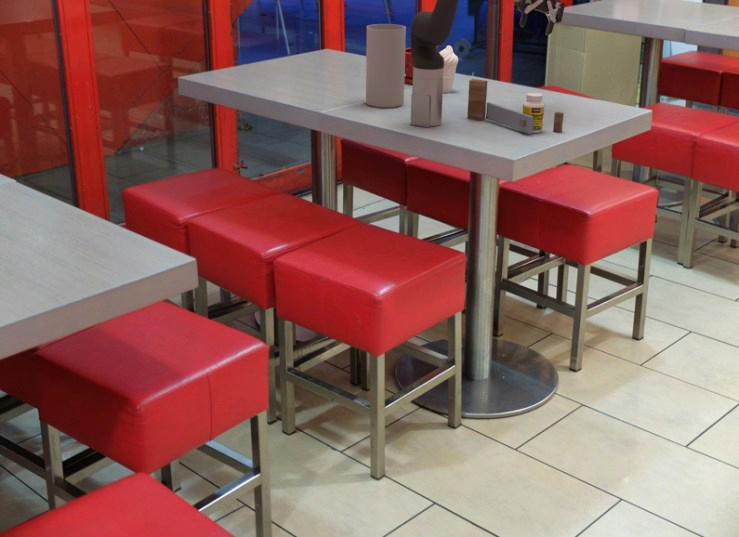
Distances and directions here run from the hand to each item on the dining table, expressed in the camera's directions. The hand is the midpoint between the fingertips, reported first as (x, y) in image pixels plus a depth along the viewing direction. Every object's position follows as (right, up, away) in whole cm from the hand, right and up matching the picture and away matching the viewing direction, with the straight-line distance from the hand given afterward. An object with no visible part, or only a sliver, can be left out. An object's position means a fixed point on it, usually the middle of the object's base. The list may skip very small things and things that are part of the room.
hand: (534, 30), depth 304 cm
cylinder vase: (-46, -19, +23) cm, 55 cm away
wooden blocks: (-7, -29, -1) cm, 30 cm away
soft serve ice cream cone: (-24, -11, +43) cm, 50 cm away
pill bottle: (-2, -32, -7) cm, 33 cm away
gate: (-9, -30, -5) cm, 32 cm away
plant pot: (-33, -6, +56) cm, 65 cm away
